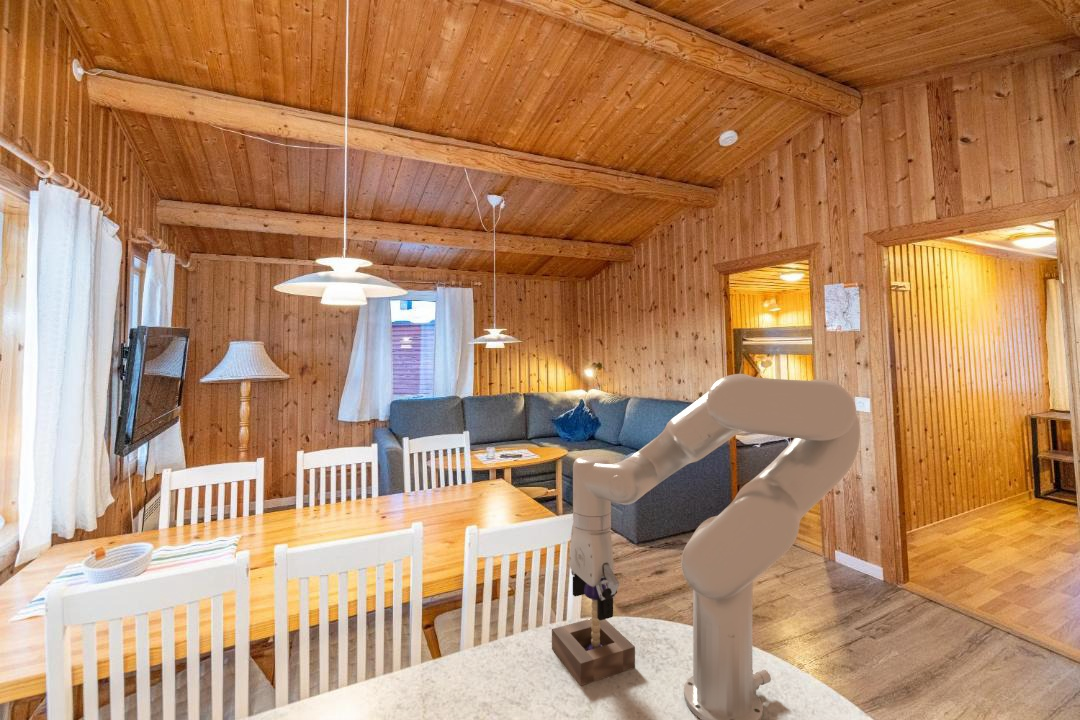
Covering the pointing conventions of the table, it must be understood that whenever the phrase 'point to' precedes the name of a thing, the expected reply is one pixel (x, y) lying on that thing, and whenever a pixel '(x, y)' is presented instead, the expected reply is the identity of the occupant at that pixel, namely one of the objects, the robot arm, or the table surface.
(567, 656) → the socket block
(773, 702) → the table surface
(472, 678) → the table surface
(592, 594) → the toy lamp
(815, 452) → the robot arm
